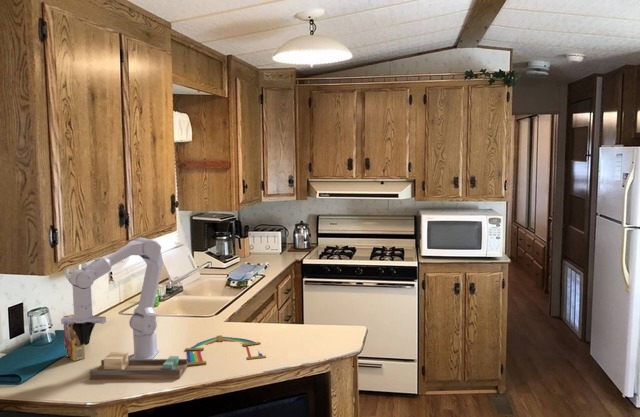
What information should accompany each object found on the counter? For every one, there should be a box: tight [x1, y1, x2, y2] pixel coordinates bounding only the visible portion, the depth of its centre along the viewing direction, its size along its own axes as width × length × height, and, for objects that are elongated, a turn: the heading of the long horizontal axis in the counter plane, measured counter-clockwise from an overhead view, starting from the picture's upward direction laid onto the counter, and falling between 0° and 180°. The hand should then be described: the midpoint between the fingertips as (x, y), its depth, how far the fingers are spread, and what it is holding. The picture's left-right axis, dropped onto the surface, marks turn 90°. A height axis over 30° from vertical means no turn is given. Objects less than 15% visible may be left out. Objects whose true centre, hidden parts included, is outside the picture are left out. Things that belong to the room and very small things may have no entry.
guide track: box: [89, 355, 188, 380], centre depth 184 cm, size 10×30×4 cm, turn 89°
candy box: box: [62, 313, 86, 362], centre depth 200 cm, size 9×4×15 cm, turn 47°
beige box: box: [103, 351, 129, 369], centre depth 184 cm, size 6×6×4 cm
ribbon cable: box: [184, 335, 267, 367], centre depth 207 cm, size 29×1×30 cm
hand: (84, 344), depth 183 cm, fingers closed
